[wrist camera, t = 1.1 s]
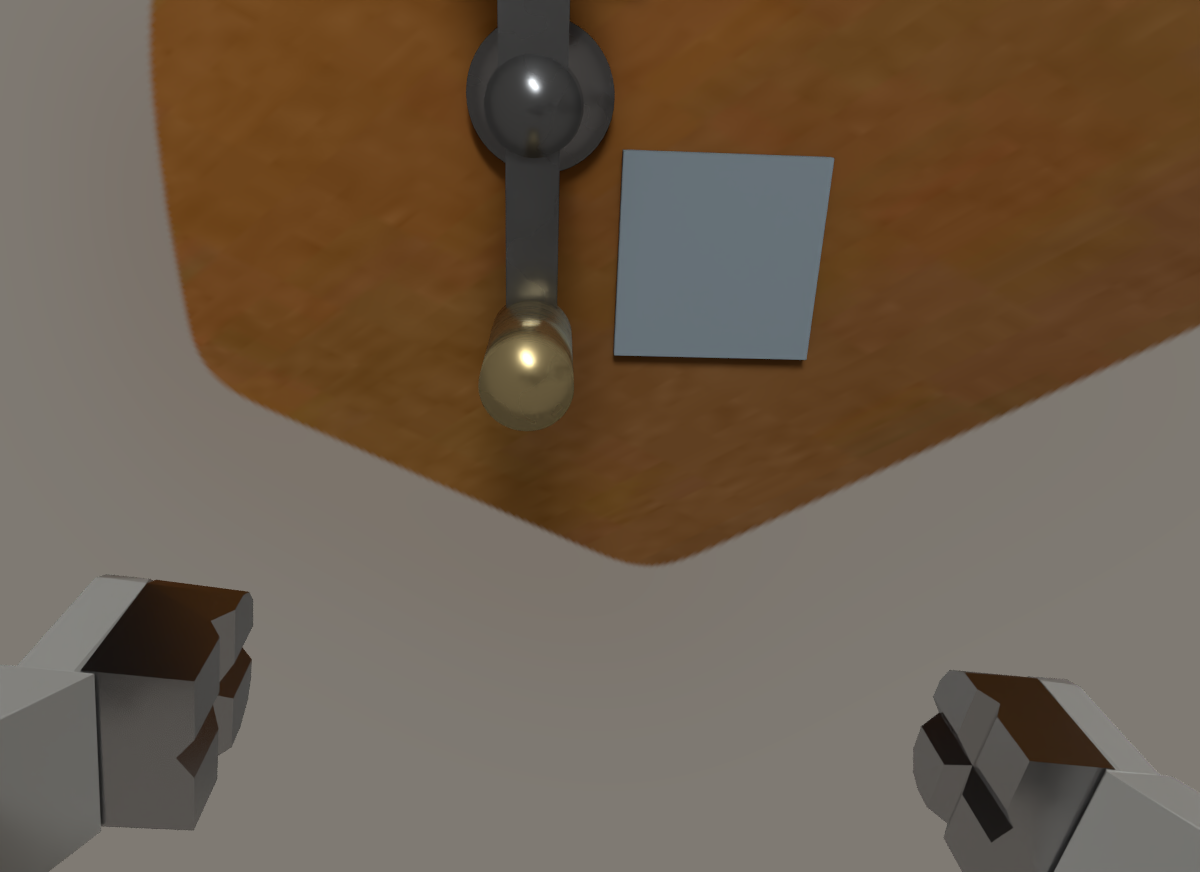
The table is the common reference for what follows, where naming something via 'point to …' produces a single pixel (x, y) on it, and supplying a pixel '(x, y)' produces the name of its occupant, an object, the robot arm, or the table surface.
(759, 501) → the table surface
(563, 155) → the latch post
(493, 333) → the lever
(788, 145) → the table surface
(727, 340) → the pad
